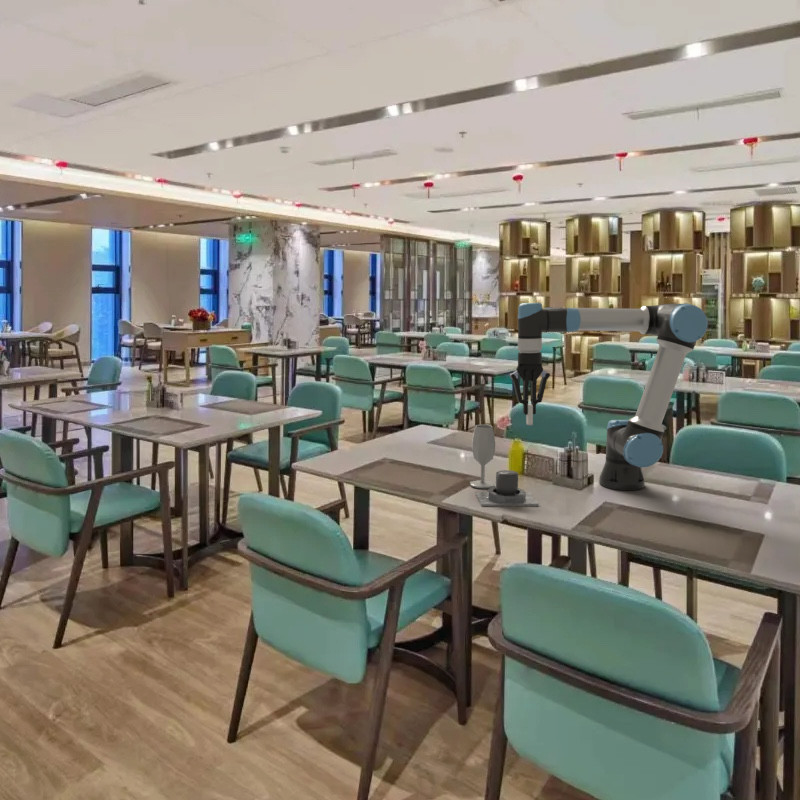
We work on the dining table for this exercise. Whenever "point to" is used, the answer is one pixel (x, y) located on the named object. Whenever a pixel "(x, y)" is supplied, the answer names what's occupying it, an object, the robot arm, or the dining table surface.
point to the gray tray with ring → (506, 498)
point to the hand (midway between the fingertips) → (529, 424)
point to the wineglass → (483, 452)
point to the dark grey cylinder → (507, 482)
